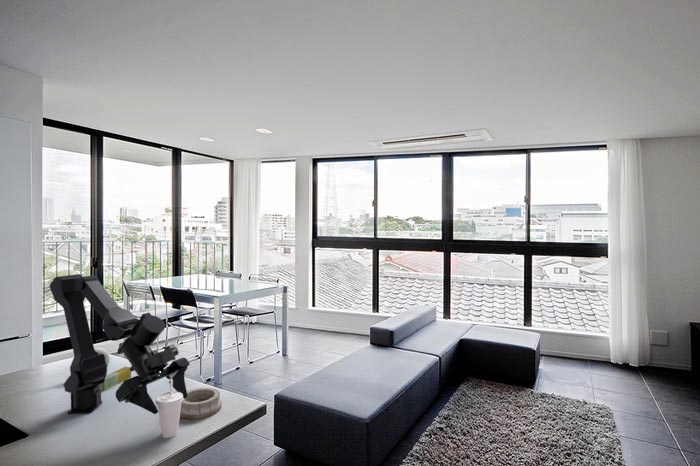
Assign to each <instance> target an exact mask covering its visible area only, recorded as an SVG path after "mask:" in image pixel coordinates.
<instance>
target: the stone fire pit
mask: <svg viewBox="0 0 700 466" xmlns="http://www.w3.org/2000/svg"><path fill="white" fill-rule="evenodd" d="M220 394H221V393H220V391H219V390H218V389H216V388H212V387H198V388H197V387H196V388H193V389H190V390H187V395H188V396H187V398H186V399H184V398H183V400H182V403H181V411H180V419H183V420H190V421H191V420H193V421H194V420H201V419H206V418H209V417H212V416H214V415H216V414H217V413H218V412H220V410H221V409H222V401H221V397H220V396H221V395H220Z"/></svg>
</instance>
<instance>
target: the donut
mask: <svg viewBox="0 0 700 466" xmlns="http://www.w3.org/2000/svg"><path fill="white" fill-rule="evenodd" d="M94 349H95V351H96V352H98V353H99V354H103V355H104V356H105V362H106V364H107V368H109V367H108V366H109V364H110V362H111V356H110V353H109V352H108V351H107V350H106V349H105V348H103V347H94Z"/></svg>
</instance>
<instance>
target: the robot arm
mask: <svg viewBox="0 0 700 466" xmlns="http://www.w3.org/2000/svg"><path fill="white" fill-rule="evenodd" d="M49 290H50V292H51V294H52V297H53V300H54V301H55V302H56V303H58V304H59V305H60V306H61V307H62V308H63V312H64V317H65V321H66V325H67V329H68V334H69V338H70V339H69V340H70V342H71V347H72V352H73V355H74V357H73V359H72V361H71V364H70V367H69V370H70V375H69V376H68V377H67V379H66V380H65V381H64V383H63V388H64V392H67V393H70V409H69V410H67V414H86V413H88V414H89V413H92V412H94V411H95V410H96V409H97V408H98V407H100V406H101V404H102V403H103V400H102V392H101V390H99V384H103V383H104V382H105V378H106V375H108V374H107V373H108V367H107V364H106V362H105V356H104V355H103V354H99V353H98V352H96V351H95V349H94V348H95V346H94V343H93V342H94V341H93V339H92V333H91V331H90V326H89V322H88V316H87V313H86V308H85V304H84V302H85V300H87V301H88V302H89V304H90V305H91V307H92V308H93V310H95V312H96V313H97V314H98V316H99V317H100V318H101V320H102V326H101V327H102V330H103V331H104V333H105V335H106V337H107V338H108V339H109V340H110V341H112V342H117V341H120V340H123V339H124V341H123V342H120V343H119V344H118V349H117V355H120V354H124V355H125V357H126V359H127V360H128V362H129V363H130V365H131V366H130V367H131V368H130V370H131V373H132V372H135V374H136V375H135V376H131V378H129V379H127V380H125V381H123V382H121V383H120V386H119V387H118V388H117V389H116V391H115V398H116V399H117V400H116V401H118V403H122V402H124V403H125V404H127V403H130V404H133V405H135V406H138V407H140V408H141V409H144V410H146V411H148V412H150V413H152V414H154V415H157V414H159V412H158V406H157V404H156V403H155V402H154V401H153V399H152V397H151V395H150V394H149V393H148V387H147V385H150V384H152V383H154V382H157V381H158V380H162V379H163V378H166V379H167V380H169V381H168V383H169V384H170V379H173V390H175V392H180V393H182V394H183V398H184V399H186V398H187V396H188V395H187V391H188V390H187V386H186V381H185V374H186V371H187V370H188V367H189V366H190V365H191V363H190V362H189V359H187V358H186V357H181V358H178V359H176V356H178V355H179V350H178V347H177V346H176V345H175V344H174V343H172V344H170V345H167V346H165V347H164V350H162V351H159V350H157V349H155V350H153V349H152V348H151V347H150V346H151V345H153V344H154V343H155V342H156V341H157V339H158V338H159V336H160V335H161V334H162V333H163V331H164V330H165V328H166V324H165V322H164V320H163V319H161V318H160V317H158V316H156V315H152V313H150V312H144V313H142V314H141V316H140V318H139V319H138V317H136V316H135V315H134V314H133V313H132V312H131V311H129V310H127V309H124V308H121V306H119V304H118V303H117V302H116V301H115V299H114V298H113V297H112V296H111V295H110V294H109V291H108V290H106V289H105V287H104V286H103V285H102V284H101V281H100V279H99V276H98V275H93V274H92V275H85V276H84V275H82V274H79V273H76V274H68V275H61V276H60V275H59V276H55V277H54V278H53V279H52V281H51V282H50V284H49ZM171 361H172V362H171ZM169 362H171V363H170V364H169ZM166 367H167V368H166Z"/></svg>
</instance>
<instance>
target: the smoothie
mask: <svg viewBox="0 0 700 466" xmlns="http://www.w3.org/2000/svg"><path fill="white" fill-rule="evenodd" d="M169 381H170V383H169V385H170V387H169V388H170V389H169V390H170V392H165V393H162V394H160V395H158V396H157V397H156V398H155V405H156V406H157V410H158V418H159V424H160V431H161V436H162V438H164V439H170V438H174V437H175V436H177V435H178V434H179V429H180V428H179V425H180V419H181V418H180V411H181V403H182V400H183V394H182V393H180V392H177V391H173V390H174V388H173V379H169Z"/></svg>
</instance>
